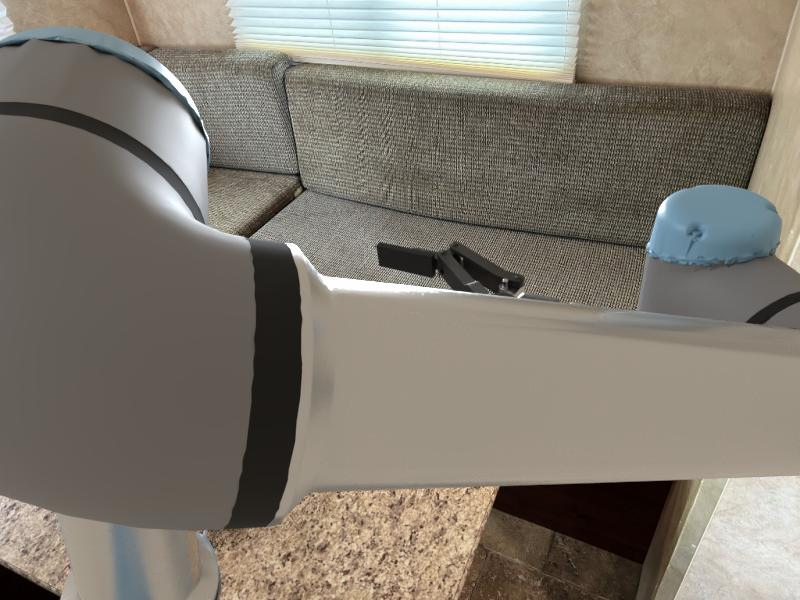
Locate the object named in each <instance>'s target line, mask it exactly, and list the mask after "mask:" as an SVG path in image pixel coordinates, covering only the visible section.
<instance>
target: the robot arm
mask: <svg viewBox="0 0 800 600" xmlns="http://www.w3.org/2000/svg"><path fill="white" fill-rule="evenodd" d="M210 164H211V143H210V137H209V135H208V133H207V131H206V129H205V126H204V121H203V119H202V117H201V116H200V113H199V111H198V108H197V107H196V104H195V102H194V100H193V98H192V97H191V95H190V94H189V92H188V91H187V89H186V88H185V87H184V86H183V84H182V83H181V82H180V80H179V79H178V78H177V77H176V76H175V75H174V74H173V73H172V72H171V71H170V69H168V68H167V67H166V66H164V65H163V64H162V63H161V62H160V61H159V60H157V59H156V58H155V57H153V56H152V55H150V54H149V53H148V52H146V51H144V50H143V49H141V48H139V47H138V46H136V45H134V44H132V43H130V42H128V41H126V40H124V39H121V38H119V37H117V36H114V35H111V34H109V33H105V32H101V31H98V30H93V29H89V28H84V27H76V26H64V25H61V26H60V25H58V26H57V25H56V26H43V27H42V26H41V27H36V28H30V29H26V30H22V31H18V32H16V33H13V34H11V35H9V36H6V37H4V38H2V39H0V496H1V497H4V498H8V499H10V500H13V501H17V502H21V503H24V504H27V505H31V506H34V507H37V508H41V509H43V510H46V511H50V512H53V513H55V515H56V519H57V522H58V526H59V529H60V533H61V536H62V541H63V544H64V547H65V551H66V554H67V558H68V563H69V565H70V569H71V571H70V572H69V574H68V576H67V578H66V579H65V582H64V584H63V587H62V591H61V595H60V599H59V600H220V599H221V598H220V597H221V591H222V575H221V574H222V573H221V568H220V566H219V562H218V557H217V554H216V550H215V549H214V547H213V545H212V544H211V542H210V541H209V540H208V538H207V537H206V538H205V537H204V536H203V533H201V531H204V530H208V531H218V530H219V531H221V530H222V531H223V530H240V529H241V530H242V529H258V528H269V527H271V528H272V527H276V526H278V525H280V524H281V523H282V522H283V521H284V520H285V519H286V518H287V517H288V516H289V515H290V513H292V511H293V510H294V509H296V507H297V506H298V505H299V504H300V503H301V502H302V500H304V499H305V498H306V497H307V496H309V495H310V494H317V493H340V492H341V493H345V492H370V491H371V492H373V491H401V490H404V491H405V490H430V489H432V490H433V489H457V488H458V489H459V488H485V487H486V488H488V487H514V486H542V485H544V486H545V485H571V484H572V485H573V484H574V485H575V484H600V483H601V484H602V483H626V482H629V483H630V482H656V481H657V482H658V481H659V482H660V481H685V480H713V479H714V480H715V479H742V478H743V479H745V478H771V477H772V478H773V477H775V478H776V477H800V272H798V271H797V270H796V269H795V268H793V267H792V266H790V265H789V264H787V263H786V262H784V261H783V260H782V259H780V258H779V257H778V256H777V255H776V251H777V249H778V248H779V246H780V245H781V242H782V241H781V234H782V228H783V219H782V217H781V216H780V215H779V212H778V210H777V207H776V205H775V204H774V203H773V202H771V201H770V200H768V198H766V197H765V196H762V195H761V194H758V193H756V192H755V191H751V190H749V189H746V188H743V187H738V186H733V185H725V184H699V185H696V186H693V187H690V188H682V189H680V190H677V191H675V192H674V193H671V194H670V195H669V196H667V198H666V199H665V200H664V201H663V202H662V203H661V204H660V206H659V208H658V210H657V212H656V213H657V214H656V217H655V220H654V225H653V228H652V232H651V236H650V239H649V241H648V242H647V243H646V246H645V260H644V267H643V273H642V279H641V284H640V290H639V296H638V301H637V307H636V310H633V309H622V308H614V307H605V306H597V305H596V306H595V305H588V304H584V303H580V302H577V301H576V302H575V301H570V302H561V300H560V299H559V298H554V297H550V296H545V295H542V294H537V293H533V292H526V291H525V285H526V284H525V282H526V281H525V280H526V277H525V276H524V275H523V274H520V273H516V272H513V271H510V270H506V269H505V268H502V267H501V266H499V265H498V264H496V263H494V262H493V261H491V260H489V259H488V258H487V257H485V256H483V255H481V254H480V253H478V252H476V251H475V250H473V249H472V248H470V247H468V246H466V245H465V244H463V243H462V242H460V241H451V242H450V243H449V247H448V248H447V249H439V250H438V251H435V250H430V249H426V248H421V247H406V246H402V245H397V244H391V243H386V242H382V241H379V242H378V243H377V244H376V246H375V247H376V251H377V252H376V254H377V261H378V266H379V267H381V268H386V269H391V270H395V271H399V272H403V273H409V274H413V275H417V276H422V277H425V278H431V279H434V277H435V276H436V275H437V274H438V275H437V277H438V279H439V280H440V279H443V280H444V281H445V283H446V284H447V285H448V286H449V287H450V289H443V288H433V287H423V286H414V285H407V284H396V283H390V282H389V283H388V282H379V281H370V280H361V279H352V278H344V277H343V278H342V277H333V276H325V275H322V274H321V273H320V272H319V271H318V270H317V269H316V268H315V267H314V265H313V264H312V263H311V262H310V260H309V259H308V258H307V257H306V255H305V254H304V253H303V251H301V249H300V248H299V246H297V245H296V244H294V243H293V242H292V243H290V242H285V241H277V240H276V241H275V240H268V239H260V238H252V237H246V236H242V235H238V234H237V235H236V234H231V233H227V232H223V231H221V230H218V229H216V228H214V227H211V226H210V211H209V209H210V207H209V206H210V205H209V181H208V173H209V169H210ZM489 291H490V292H489ZM198 531H200V532H198Z"/></svg>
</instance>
